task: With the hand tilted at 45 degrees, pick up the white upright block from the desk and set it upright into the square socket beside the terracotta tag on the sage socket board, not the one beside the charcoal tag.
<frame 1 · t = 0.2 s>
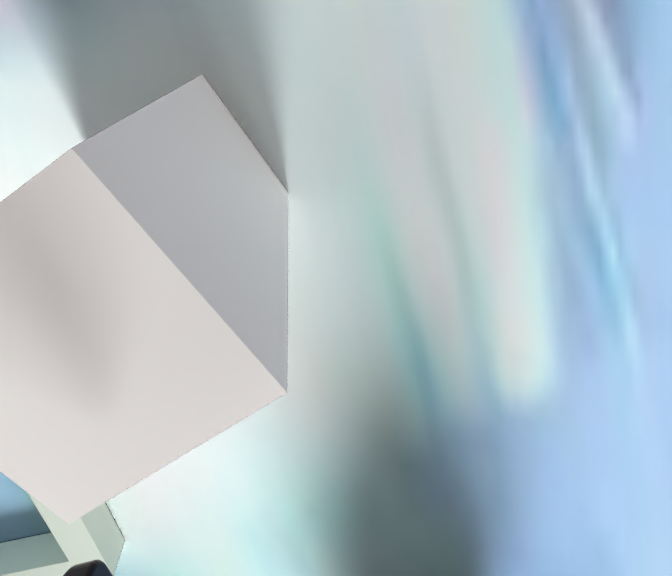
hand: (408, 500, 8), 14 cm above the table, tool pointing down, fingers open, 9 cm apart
white upright block: (192, 176, 20), on the table
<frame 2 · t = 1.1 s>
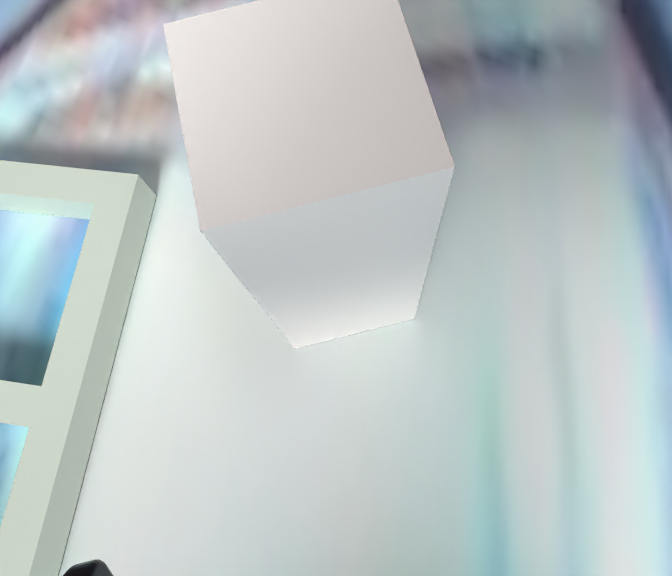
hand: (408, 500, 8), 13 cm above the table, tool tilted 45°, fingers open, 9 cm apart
white upright block: (340, 277, 23), on the table
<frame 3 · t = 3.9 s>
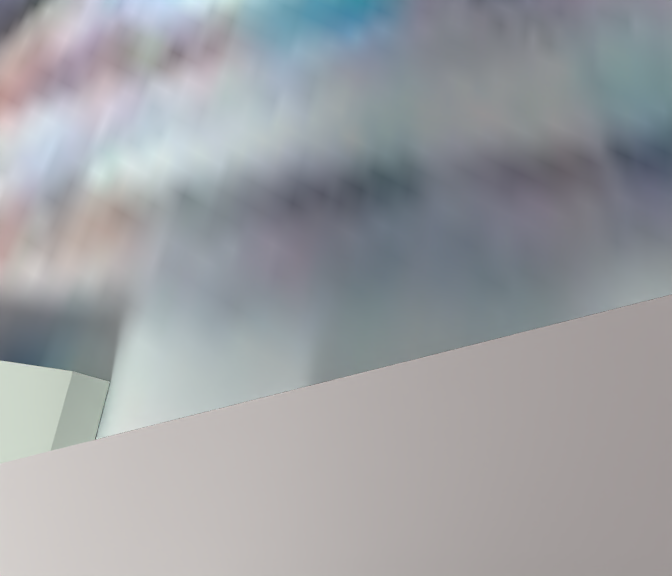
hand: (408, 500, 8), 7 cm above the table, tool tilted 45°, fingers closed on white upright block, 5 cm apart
white upright block: (409, 538, 14), on the table, touching gripper
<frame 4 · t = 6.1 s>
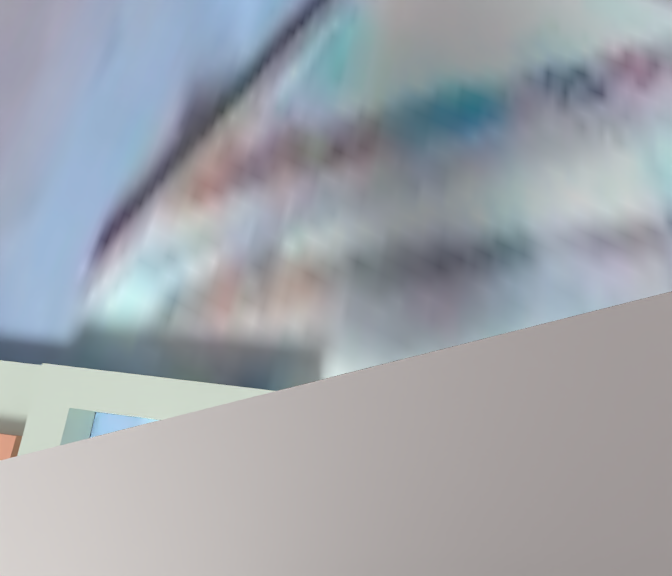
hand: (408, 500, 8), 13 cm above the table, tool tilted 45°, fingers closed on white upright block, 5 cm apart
white upright block: (410, 537, 14), point 7 cm above the table, touching gripper
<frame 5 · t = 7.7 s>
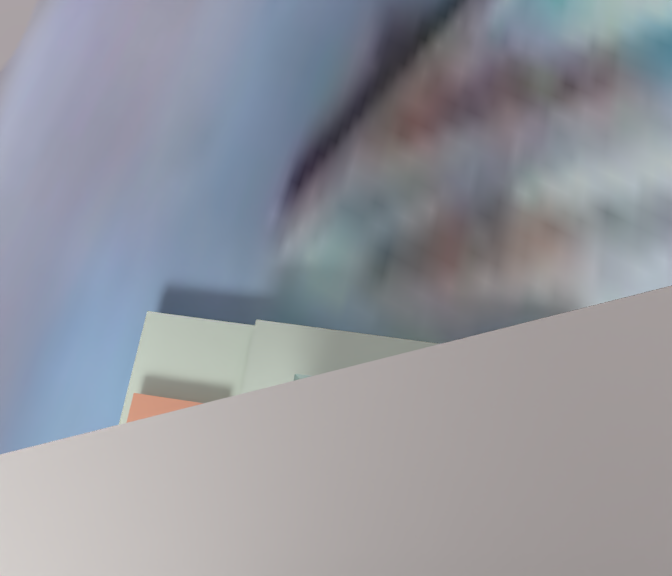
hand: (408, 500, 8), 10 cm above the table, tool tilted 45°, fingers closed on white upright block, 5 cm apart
white upright block: (409, 537, 14), point 3 cm above the table, touching gripper
when the fingers open (7 cm above the table, at t = 8.7 s): white upright block stays where it is, resting in socket board.
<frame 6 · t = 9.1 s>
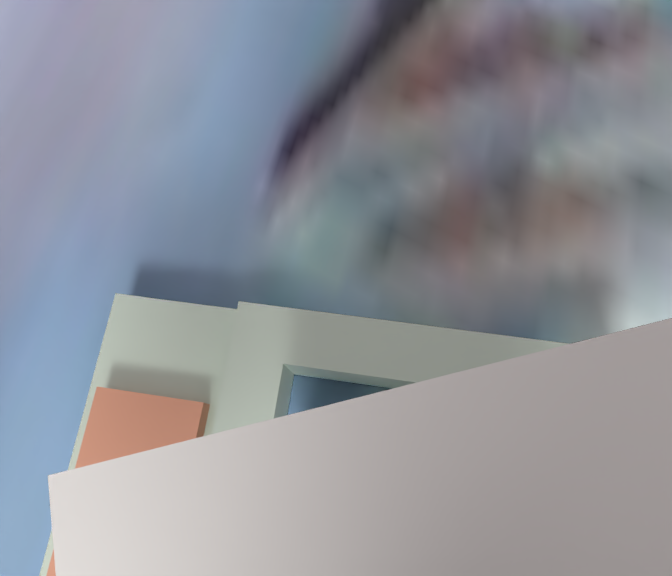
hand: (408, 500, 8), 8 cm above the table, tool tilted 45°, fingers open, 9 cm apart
white upright block: (408, 532, 15), resting in socket board
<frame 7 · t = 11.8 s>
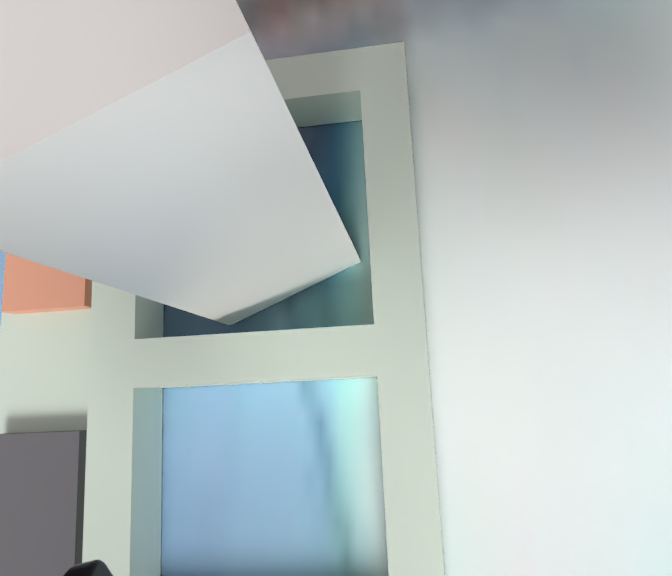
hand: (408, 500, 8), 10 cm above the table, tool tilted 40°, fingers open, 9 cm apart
socket board: (268, 360, 19), on the table
white upright block: (266, 230, 20), resting in socket board
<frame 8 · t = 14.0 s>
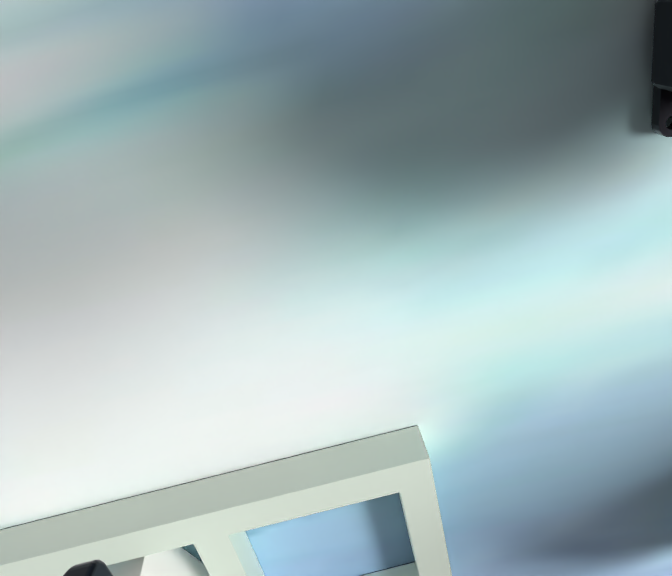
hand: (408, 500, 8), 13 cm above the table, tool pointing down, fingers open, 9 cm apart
socket board: (238, 554, 27), on the table
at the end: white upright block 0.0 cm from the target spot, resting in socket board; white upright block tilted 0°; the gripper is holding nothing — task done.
